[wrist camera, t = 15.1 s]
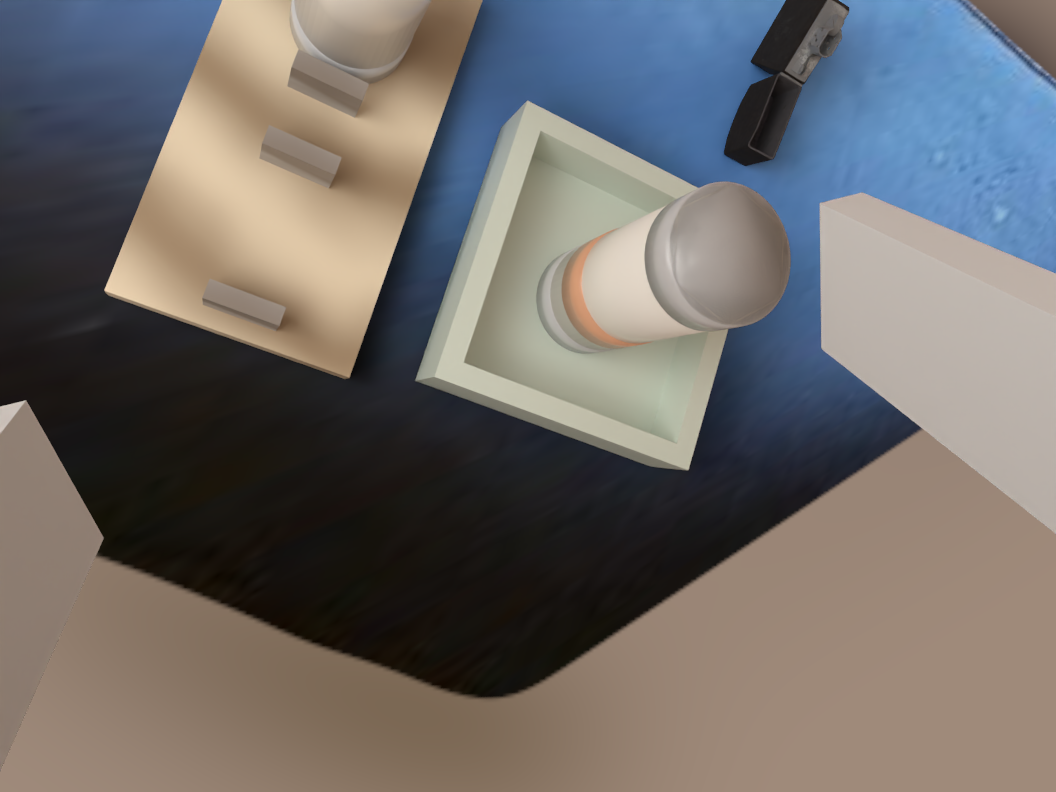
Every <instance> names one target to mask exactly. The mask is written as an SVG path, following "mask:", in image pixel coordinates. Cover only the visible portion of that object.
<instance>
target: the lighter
mask: <svg viewBox="0 0 1056 792" xmlns="http://www.w3.org/2000/svg"><path fill="white" fill-rule="evenodd" d="M848 13H849V7H848V6H846V5H845V4H843V3H842V2H840V1H839V0H786V1H785V3H784V5H783V7H782V8H781V10H780V12H779V14H778V15H777V17H776V19H775V20H774V22H773V24H772V26H771V27H770V29H769V31H768V32H767V34H766V36H765V38H764V39H763V41H762V43H761V44H760V46H759V48H758V50H757V51H756V53H755V55H754V56H753V58H752V60H751V63H753V64H755V65H756V66H758V67H760V68H761V69H763V70H764V71H766V72H768V73H769V74H772V75H774V76H771V77H769V78H766V79H764V80H761V81H759V82H756V83H754V84H751V85H750V87H749V89H748V91H747V93H746V94H745V96H744V98H743V100H742V102H741V104H740V106H739V108H738V111H737V113H736V115H735V118H734V120H733V123H732V126H731V128H730V131H729V134H728V137H727V141H726V145H725V150H724V154H725V155H726V156H728V157H730V158H732V159H733V160H735V161H737V162H739V163H741V164H742V165H745V166H747V165H751V164H755V163H759V162H764V161H768V160H772V159H774V157H775V155H776V152H777V150H778V147H779V145H780V142H781V140H782V137H783V135H784V132H785V130H786V127H787V125H788V122H789V119H790V117H791V114H792V112H793V109H794V107H795V104H796V102H797V99H798V97H799V94H800V92H801V88H802V87H801V86H802V85H803V84H804V83H805V82H806V80H807V78H808V77H809V75H810V74H811V72H812V71H813V69H814V68H815V66H816V65H817V63H818V62H819V60H820V59H821V57H824V58H826V57H829V56H831V55H832V54H833V52H834V50H835V49H836V47H837V46H838V44H839V42H840V41H841V39H842V34H841V28H842V26H843V24H844V20H845V18H846V16H847V15H848ZM834 38H835V39H834ZM836 43H837V44H836ZM829 47H830V48H829ZM828 48H829V49H828ZM830 53H831V54H830ZM829 54H830V55H829Z"/></svg>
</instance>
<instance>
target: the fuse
mask: <svg viewBox="0 0 1056 792" xmlns="http://www.w3.org/2000/svg"><path fill="white" fill-rule="evenodd" d="M431 1H432V0H292V1H291V6H290V17H289V20H290V28H291V32H292V36H293V38H294V41H295V43H296V45H297V47H298V49H299V50H300V51H303V52H305V53H307V54H309V55H311V56H313V57H315V58H317V59H319V60H321V61H323V62H325V63H327V64H329V65H331V66H334V67H336V68H338V69H340V70H342V71H344V72H346V73H348V74H350V75H352V76H354V77H356V78H358V79H360V80H362V81H364V82H367V83H369V84H371V83H375V82H378V81H380V80H382V79H384V78H386V77H387V76H389V75H390V74H391V73H392V72H394V70H395V69H396V68H397V67H398V66H399V64H400V63H401V61H402V59H403V57H404V55H405V53H406V51H407V50H408V48H409V46H410V44H411V41H412V39H413V36H414V33H415V32H416V30H417V28H418V26H419V24H420V22H421V20H422V18H423V16H424V14H425V12H426V10H427V8H428V6H429V5H430V3H431Z"/></svg>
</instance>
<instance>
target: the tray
mask: <svg viewBox="0 0 1056 792" xmlns="http://www.w3.org/2000/svg"><path fill="white" fill-rule="evenodd" d="M696 189H698V188H697V187H695V186H693V185H691V184H689V183H687V182H686V181H684V180H682V179H680V178H678V177H676V176H674V175H672V174H670V173H668V172H666V171H664V170H662V169H660V168H658V167H656V166H654V165H652V164H650V163H648V162H646V161H645V160H643V159H641V158H639V157H637V156H635V155H633V154H631V153H629V152H627V151H625V150H623V149H621V148H619V147H617V146H615V145H613V144H611V143H609V142H607V141H605V140H604V139H602V138H600V137H598V136H596V135H594V134H592V133H590V132H588V131H586V130H584V129H582V128H580V127H578V126H576V125H574V124H572V123H570V122H568V121H566V120H565V119H563V118H561V117H559V116H557V115H555V114H553V113H551V112H549V111H547V110H545V109H543V108H541V107H539V106H537V105H535V104H533V103H531V102H529V101H526V102H525V104H524V105H523V106H522V107H521V108H520V109H519V110H518V111H517V112H516V113H515V114H514V115H513V116H512V117H511V118H510V119H509V120H508V121H507V122H506V123H505V124H504V125H503V126H502V127H501V129H500V132H499V135H498V138H497V141H496V144H495V147H494V150H493V153H492V156H491V159H490V162H489V165H488V168H487V171H486V174H485V177H484V179H483V182H482V185H481V188H480V191H479V194H478V197H477V200H476V203H475V206H474V209H473V212H472V215H471V218H470V221H469V224H468V227H467V229H466V232H465V235H464V238H463V241H462V244H461V247H460V250H459V253H458V256H457V259H456V262H455V265H454V268H453V271H452V274H451V277H450V279H449V282H448V285H447V288H446V291H445V294H444V297H443V300H442V303H441V306H440V309H439V312H438V315H437V318H436V321H435V324H434V327H433V329H432V332H431V335H430V338H429V341H428V344H427V347H426V350H425V353H424V356H423V359H422V362H421V365H420V368H419V371H418V374H417V377H416V379H415V381H417V382H420V383H423V384H425V385H428V386H431V387H434V388H436V389H439V390H442V391H445V392H447V393H450V394H453V395H456V396H458V397H461V398H464V399H467V400H469V401H472V402H475V403H478V404H480V405H483V406H486V407H489V408H491V409H494V410H497V411H500V412H502V413H505V414H508V415H511V416H513V417H516V418H519V419H522V420H524V421H527V422H530V423H532V424H535V425H538V426H541V427H543V428H546V429H549V430H552V431H554V432H557V433H560V434H563V435H565V436H568V437H571V438H574V439H576V440H579V441H582V442H585V443H587V444H590V445H593V446H596V447H598V448H601V449H604V450H607V451H609V452H612V453H615V454H618V455H620V456H623V457H626V458H629V459H631V460H634V461H637V462H640V463H642V464H645V465H648V466H651V467H660V468H669V469H679V470H689V466H690V463H691V459H692V456H693V452H694V449H695V445H696V442H697V438H698V435H699V431H700V428H701V424H702V420H703V417H704V413H705V410H706V406H707V403H708V399H709V396H710V392H711V389H712V385H713V382H714V378H715V374H716V371H717V367H718V364H719V360H720V357H721V353H722V350H723V346H724V343H725V339H726V336H727V332H728V329H725V330H719V331H711V332H701V333H695V334H690V335H685V336H679V337H674V338H668V339H663V340H657V341H653V342H651V343H647V344H642V345H637V346H631V347H626V348H618V349H613V350H609V351H603V352H598V353H591V354H581V353H575V352H572V351H569V350H567V349H565V348H563V347H562V346H560V345H559V344H558V343H556V342H555V341H554V340H553V339H552V338H551V337H550V336H549V334H548V333H547V332H546V330H545V329H544V327H543V325H542V323H541V320H540V318H539V314H538V310H537V303H536V294H537V287H538V283H539V280H540V278H541V275H542V274H543V272H544V270H545V269H546V267H547V266H548V265H549V264H550V263H551V262H552V261H553V260H554V259H555V258H557V257H558V256H560V255H561V254H563V253H565V252H567V251H569V250H572V249H574V248H576V247H578V246H581V245H583V244H585V243H587V242H588V241H590V240H592V239H594V238H596V237H599V236H601V235H603V234H605V233H607V232H609V231H611V230H614V229H617V228H620V227H622V226H624V225H626V224H628V223H630V222H633V221H635V220H637V219H639V218H641V217H643V216H645V215H647V214H649V213H651V212H653V211H656V210H658V209H660V208H662V207H664V206H666V205H668V204H669V203H671V202H672V201H674V200H676V199H678V198H680V197H682V196H684V195H686V194H688V193H690V192H692V191H694V190H696Z"/></svg>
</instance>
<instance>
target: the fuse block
mask: <svg viewBox="0 0 1056 792" xmlns="http://www.w3.org/2000/svg"><path fill="white" fill-rule="evenodd" d="M291 1H292V0H222V3H221V5H220V7H219V10H218V12H217V15H216V17H215V20H214V22H213V25H212V27H211V30H210V32H209V35H208V37H207V39H206V42H205V44H204V47H203V49H202V52H201V54H200V57H199V59H198V62H197V64H196V66H195V69H194V71H193V74H192V76H191V79H190V81H189V84H188V86H187V89H186V91H185V94H184V96H183V98H182V101H181V103H180V106H179V108H178V111H177V113H176V116H175V118H174V121H173V123H172V125H171V128H170V130H169V133H168V135H167V138H166V140H165V143H164V145H163V148H162V150H161V153H160V155H159V157H158V160H157V162H156V165H155V167H154V170H153V172H152V175H151V177H150V180H149V182H148V185H147V187H146V189H145V192H144V194H143V197H142V199H141V202H140V204H139V207H138V209H137V212H136V214H135V216H134V219H133V221H132V224H131V226H130V229H129V231H128V234H127V236H126V239H125V241H124V244H123V246H122V248H121V251H120V253H119V256H118V258H117V261H116V263H115V266H114V268H113V271H112V273H111V275H110V278H109V280H108V283H107V285H106V288H105V290H104V291H105V292H106V293H107V295H109V296H112V297H115V298H117V299H120V300H123V301H126V302H129V303H132V304H134V305H137V306H140V307H143V308H146V309H148V310H151V311H154V312H157V313H160V314H163V315H165V316H168V317H171V318H174V319H177V320H180V321H182V322H185V323H188V324H191V325H194V326H197V327H199V328H202V329H205V330H208V331H211V332H213V333H216V334H219V335H222V336H225V337H228V338H230V339H233V340H236V341H239V342H242V343H245V344H247V345H250V346H253V347H256V348H259V349H262V350H264V351H267V352H270V353H273V354H276V355H278V356H281V357H284V358H287V359H290V360H293V361H295V362H298V363H301V364H304V365H307V366H310V367H312V368H315V369H318V370H321V371H324V372H327V373H329V374H332V375H335V376H338V377H341V378H344V379H347V378H349V377H350V375H351V372H352V369H353V366H354V363H355V360H356V358H357V355H358V352H359V349H360V346H361V343H362V341H363V338H364V335H365V332H366V329H367V326H368V324H369V321H370V318H371V315H372V312H373V309H374V307H375V304H376V301H377V298H378V295H379V292H380V290H381V287H382V284H383V281H384V278H385V275H386V273H387V270H388V267H389V264H390V261H391V258H392V256H393V253H394V250H395V247H396V244H397V241H398V239H399V236H400V233H401V230H402V227H403V224H404V222H405V219H406V216H407V213H408V210H409V207H410V205H411V202H412V199H413V196H414V193H415V190H416V188H417V185H418V182H419V179H420V176H421V173H422V171H423V168H424V165H425V162H426V159H427V156H428V154H429V151H430V148H431V145H432V142H433V139H434V137H435V134H436V131H437V128H438V125H439V122H440V120H441V117H442V114H443V111H444V108H445V105H446V103H447V100H448V97H449V94H450V91H451V88H452V86H453V83H454V80H455V77H456V74H457V71H458V69H459V66H460V63H461V60H462V57H463V54H464V51H465V49H466V46H467V43H468V40H469V37H470V34H471V32H472V29H473V26H474V23H475V20H476V17H477V15H478V12H479V9H480V6H481V3H482V0H432V1H431V3H430V5H429V6H428V8H427V10H426V12H425V14H424V16H423V18H422V20H421V22H420V24H419V26H418V28H417V30H416V32H415V33H414V36H413V39H412V41H411V44H410V46H409V48H408V50H407V51H406V53H405V55H404V57H403V59H402V61H401V63H400V64H399V66H398V67H397V68H396V69H395V70H394V72H392V73H391V74H390V75H389V76H387V77H386V78H384V79H382V80H380V81H378V82H375V83H371V84H369V83H367V82H364V81H362V80H360V79H358V78H356V77H354V76H352V75H350V74H348V73H346V72H344V71H342V70H340V69H338V68H336V67H334V66H331V65H329V64H327V63H325V62H323V61H321V60H319V59H317V58H315V57H313V56H311V55H309V54H307V53H305V52H303V51H300V50H299V49H298V47H297V45H296V43H295V41H294V38H293V36H292V32H291V28H290V20H289V17H290V6H291Z"/></svg>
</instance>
